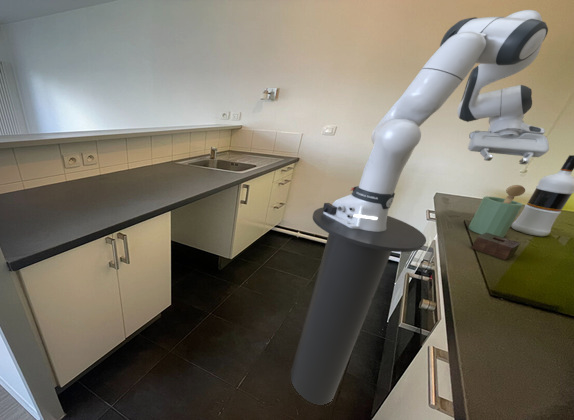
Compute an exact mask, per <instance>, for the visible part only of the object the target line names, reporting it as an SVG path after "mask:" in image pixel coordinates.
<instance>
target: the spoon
mask: <svg viewBox="0 0 574 420" xmlns="http://www.w3.org/2000/svg"><path fill="white" fill-rule="evenodd" d="M505 192H506V194H507V196H506V197H505V198H504V199H505V200H504V202H503V203H508V204H510V203H511V202H512V200H513V201H514V199H515V197H519V196H523V194H525V192H526V188H525V187H524V186H523V185H520V184H513V185H510V186H508V187H507V188H506V190H505Z"/></svg>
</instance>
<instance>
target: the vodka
mask: <svg viewBox="0 0 574 420" xmlns="http://www.w3.org/2000/svg"><path fill="white" fill-rule="evenodd" d="M573 171H574V154H572V155H568V157H567V158H566V160H565V161H564V163H563V164H562V166H561V168H560V170H558V172H557V173H553V174H548V175H545V176H543V177H541V178H540V179H539V181H538V183H537V185H536V186H535V190H534V191H533V193H532V194H531V196H530V198H529V199H528V201H527V203H526V204H524V207H523V209H522V210H521V212H520V214H519V215H518V216H517V217H516V218H515V219H514V221H513V223H512V225H511V226H510V227H511V228H512V229H513V230H514V231H516V232H519V233H522V234H526V235H529V236H534V237H547V236H549V235H550V234H551V231H552V227H553V225H554V223H555V222H556V220H557V218H558V217H559V215H560V214H561V213H562V210H563V209H564V207H565V205H566V204H567V203H568V201H569V199H570V198H571V196H572V195H573V194H574V176H573V175H572V173H573Z"/></svg>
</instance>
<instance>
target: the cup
mask: <svg viewBox="0 0 574 420" xmlns="http://www.w3.org/2000/svg"><path fill="white" fill-rule="evenodd" d="M505 199H506V198H503V197H497V196H488V195H487V196H483V197H482V199H481V202H480V204H479V206H478V207H477V209H476V211H475V214H474V215H473V216H472V219H471V220H470V223H469V224H468V230H469V231H471V232H474V233H476V234H479V235H482V234H484V233H490V234H493V235H496V236H500V237H503V238H505V236H506V235H507V233H508V232H509V230H510V228H511V227H512V226H511V225H512V223H513V222H514V221H515V220H516V219H517V217H518V214H519V212H520V211H521V210H522V207H523V205H524V204H523V203H521V202H519V201H517V200H514V199H513V200H512V202H511V203H510V204H508V203H503V202H504V200H505Z"/></svg>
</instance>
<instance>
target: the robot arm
mask: <svg viewBox="0 0 574 420" xmlns="http://www.w3.org/2000/svg"><path fill="white" fill-rule="evenodd" d="M548 32H549V27H548V25H547V22H545V21H543V18H542V15H541V13H540V12H539V11H537V10H534V9H523V10H519V11H516V12H513V13H510V14H509V15H507V16H487V17H486V16H485V17H475V16H474V17H468V18H464V19H461V20H459V21H457V22H456V23H454V24H453V25H452V26H451V27H449V29H448V30H447V31H446V32H445V34H444V35H443V37H442V39H441V41H440V44H439V48H438V49H437V50H436V51H435V52H434V53H433V54H432V55H431V56H430V57H429V59H428V60H427V61H426V63H425V64H424V65H423V66H422V68H421V69H420V70H419V71H418V73H417V75H416V76H415V77H414V78H413V79H412V81H411V82H410V84H409V85H408V87H407V88H406V89H405V91H404V92H403V93H402V95H401V96H400V97H399V98H398V99H397V100H396V102H395V103H394V104H393V105H392V106H391V107H390V109H389V110H388V111H387V112H386V114H385V115H384V116H383V117H382V118H381V120H379V122H378V123H377V125H376V126H375V128H373V130H372V133H371V142H372V144H373V147H372V149H371V152H370V154H369V157H368V159H367V160H366V164H365V165H364V167H363V171H362V174H361V177H360V181H359V184H358V185H356V186H353V187H350V191H352V192H351V194H347V195H345V196H343V197H339V198H337V199H336V200H334V202H333V203H330V202H324V203H323V210H324V212H323V214H325V215H327V216H329V217H331V218H332V219H334V220H336V221H338V222H340V223H342V224H344V225H345V226H347V227H349V228H353V229H362V230H367V231H374V232H381V231H385V230H386V229H387V228H386V223H387V216H389V215H388V214H389V210H390V208H391V206H392V204H393V203H394V199H395V195H396V193H395V191H396V189H397V185H398V183H399V180H400V177H401V175H402V172H403V170H404V168H405V166H406V165H407V163H408V162H409V160H410V158H411V156H412V154H413V153H414V150H415V148H416V147H417V146H418V145H419V143H420V142H421V139H422V131H421V128H420V127H421V126H422V125H423V124H424V123H425V122H426V121H427V120H428V119H429V118H431V116H432V115H434V114H435V113H436V112H438V110H440V109H441V107H442V106H443V105H444V104H445V103H446V101H448V99H449V98H450V97H451V96H452V94H453V93H454V92H455V91H456V89H457V88H458V87H459V86H460V85H461V84H462V83H463V81H464V80H465V78H466V77H467V76H468V78H467V81H466V85H465V87H464V91H463V94H462V98H461V100H460V102H459V104H458V106H457V110H456V111H457V117H458V119H460V120H462V121H463V122H467V123H469V122H474V121H478V120H482V119H488V124H489V126H488V131H487V130H474V131H471V132H470V133H469V134H468V135H469V136H468V137H469V138H468V139H469V142H468V145H467V150H468V151H469V152H475V153H476V152H477V153H480V155H481V156H482V157H483V161H484V162H485V161H487V162H490V161H492V159H493V157H494V156H493V155H494V154H496V155H507V156H520V157H522V158H521V159H519V161H518V162H519V165H523V166H526V165H527V164H529V163H530V159H531V158H540V157H542V156H543V155H545V154H547V153H548V152H549V150H550V145H549V140H548V138H547V136H546V135H544V134H545V133H546V130H545V128H543V127H538V126H536V125H535V126H534V125H531V124H528V123H525V121H524V120H523V119H524V117H525V114H526V113H527V112H529V111H530V110H531V109H532V107H533V98H532V93H533V91H532V88H530V87H529V86H527V85H524V84H519V85H513V86H509V87H504V88H500V89H496V90H492V91H488V92H483V93H481V90H482V89H483V88H485V87H487V86H489V85H490V84H493V83H495V82H498V81H500V80H503V79H506V78H508V77H509V78H510V77H512V76H513V75H516V74H518V73H519V72H521V71H523V70H524V69H526V68H527V67H529V66H530V65H531V64H532V63H533V62H534V61H535V60H536V59H537V57H538V55H539V53H540V52H541V51H540V50H541V48H542V45H543V42H544V41H545V39H546V37H547V35H548ZM476 64H479V65H476ZM475 65H476V66H475Z"/></svg>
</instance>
